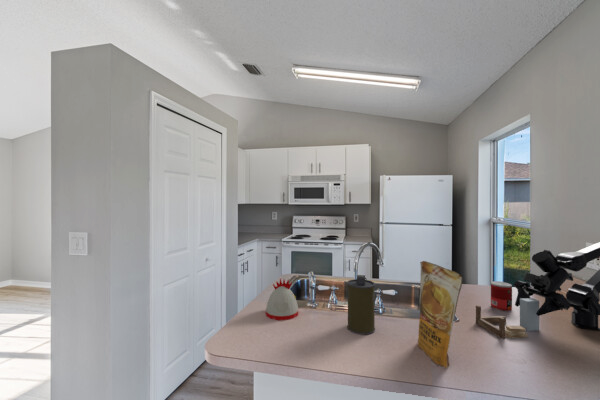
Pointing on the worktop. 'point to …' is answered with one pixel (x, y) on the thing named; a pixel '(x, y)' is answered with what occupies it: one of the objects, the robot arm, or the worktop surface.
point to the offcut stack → (515, 332)
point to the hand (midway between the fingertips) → (526, 310)
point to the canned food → (501, 295)
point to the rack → (488, 321)
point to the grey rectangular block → (529, 314)
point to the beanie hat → (282, 302)
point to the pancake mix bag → (437, 310)
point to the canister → (361, 306)
